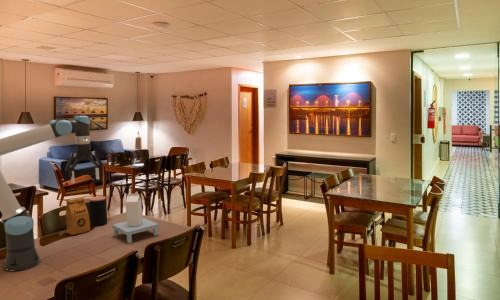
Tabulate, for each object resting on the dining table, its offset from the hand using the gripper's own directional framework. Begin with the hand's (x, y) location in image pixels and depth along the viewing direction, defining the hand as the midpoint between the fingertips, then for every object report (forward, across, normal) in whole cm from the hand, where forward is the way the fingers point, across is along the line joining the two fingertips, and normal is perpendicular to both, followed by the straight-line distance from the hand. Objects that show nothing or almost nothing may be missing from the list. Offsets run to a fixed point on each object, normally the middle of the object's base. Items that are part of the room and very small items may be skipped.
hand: (85, 180), depth 206 cm
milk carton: (+30, +25, -7) cm, 39 cm away
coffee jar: (+37, +19, +33) cm, 53 cm away
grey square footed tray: (+37, +25, -7) cm, 45 cm away
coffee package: (+37, +3, +25) cm, 45 cm away
